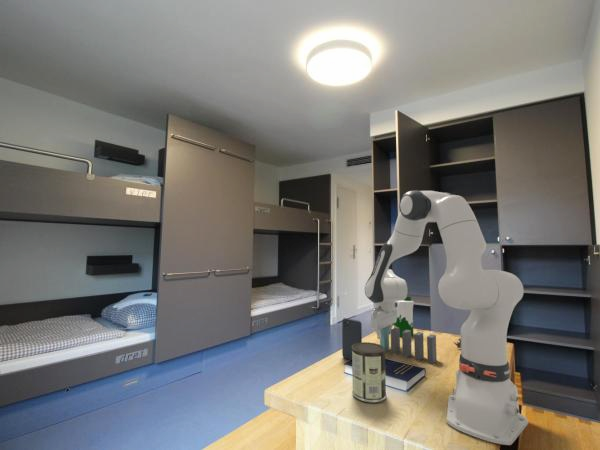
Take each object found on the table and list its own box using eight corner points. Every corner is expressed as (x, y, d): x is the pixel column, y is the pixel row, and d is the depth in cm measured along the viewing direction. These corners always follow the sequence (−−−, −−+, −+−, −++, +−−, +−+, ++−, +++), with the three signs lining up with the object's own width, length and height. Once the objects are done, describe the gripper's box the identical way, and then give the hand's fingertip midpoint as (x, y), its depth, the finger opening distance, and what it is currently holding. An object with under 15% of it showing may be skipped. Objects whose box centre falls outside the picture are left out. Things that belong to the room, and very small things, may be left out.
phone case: (341, 357, 121) (341, 318, 122) (343, 356, 122) (343, 317, 123) (360, 363, 114) (359, 321, 116) (362, 362, 116) (362, 321, 117)
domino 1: (380, 351, 129) (379, 327, 130) (384, 348, 133) (384, 325, 134) (384, 352, 128) (384, 328, 128) (389, 349, 132) (388, 326, 132)
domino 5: (436, 360, 119) (435, 335, 120) (432, 364, 115) (432, 337, 116) (431, 359, 120) (430, 334, 121) (427, 362, 116) (426, 336, 117)
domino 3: (411, 354, 125) (411, 330, 126) (407, 357, 121) (406, 333, 122) (406, 353, 126) (406, 329, 127) (402, 356, 123) (402, 332, 123)
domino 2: (400, 351, 128) (399, 328, 129) (395, 354, 125) (395, 330, 125) (395, 350, 130) (395, 327, 130) (391, 353, 126) (390, 329, 127)
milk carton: (416, 337, 149) (415, 297, 151) (400, 338, 148) (399, 297, 149) (407, 332, 158) (406, 294, 160) (391, 333, 156) (390, 295, 158)
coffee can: (369, 383, 98) (369, 340, 99) (393, 397, 89) (392, 349, 90) (345, 390, 93) (344, 344, 94) (367, 406, 84) (367, 355, 85)
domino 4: (423, 357, 122) (423, 332, 123) (419, 360, 118) (419, 335, 119) (418, 356, 123) (418, 331, 124) (414, 359, 119) (414, 334, 120)
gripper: (380, 309, 122) (381, 343, 121) (399, 302, 138) (400, 333, 136) (366, 307, 126) (367, 340, 125) (386, 301, 142) (387, 330, 140)
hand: (384, 336), depth 131 cm, fingers open, 8 cm apart
